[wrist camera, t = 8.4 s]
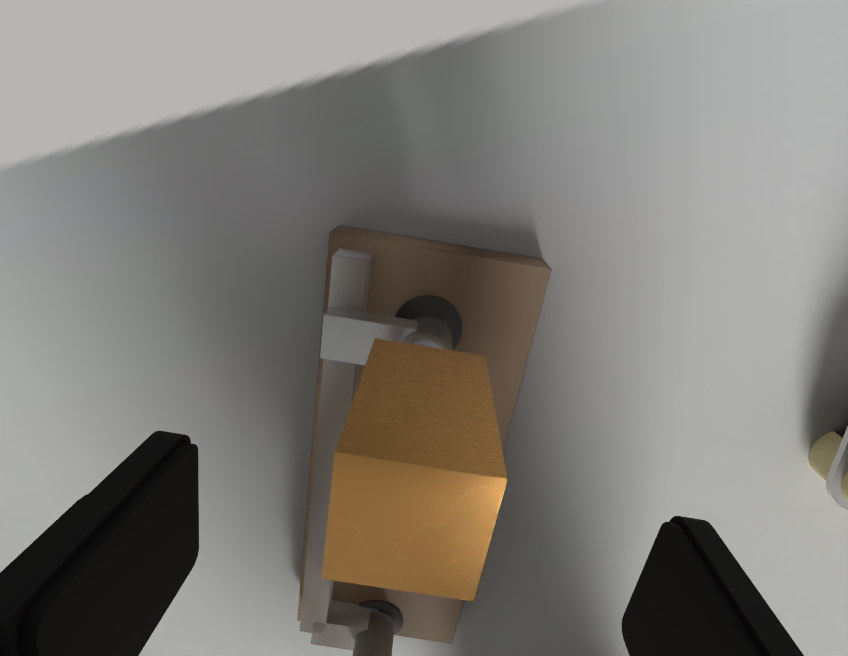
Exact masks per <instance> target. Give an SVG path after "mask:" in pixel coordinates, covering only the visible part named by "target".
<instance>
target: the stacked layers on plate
mask: <svg viewBox="0 0 848 656" xmlns="http://www.w3.org/2000/svg"><path fill="white" fill-rule="evenodd" d="M809 464H810V466H811V467H812V469H813V470H815V471H816V472H817V473H818V474H819V475H820V476H821V477H822V478H823V479H825V480H826V489H827V492H828V494H829V496H830V497H831V498H832V499H833V500H834V501H835V502H836V503H837V504H838V505H839V506H841V507H843V508H845V509H847V510H848V426H847V429H846V431H845V434H844V436H843V438H842V437H841V436H839V435H838V434H837V433H835V432H834V431H831V432H829V433H827V434H825V435H823V436H822V437H821V438H819V439H818V440H817V441H816V442H815V443H814V445H813V446H812V448H811V450H810V452H809Z"/></svg>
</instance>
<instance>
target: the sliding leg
mask: <svg viewBox="0 0 848 656" xmlns="http://www.w3.org/2000/svg"><path fill="white" fill-rule="evenodd" d="M320 358H323V359H329V360H335V361H341V362H348V363H354V364H360V365H365V367H364V370H363V373H362V376H361V379H360V382H359V384H358V387H357V390H356V393H355V396H354V399H353V401H352V404H351V407H350V410H349V413H348V416H347V418H346V421H345V424H344V427H343V430H342V433H341V435H340V438H339V441H338V444H337V447H336V450H335V454H334V463H333V473H332V482H331V492H330V501H329V511H328V520H327V530H326V539H325V549H324V558H323V568H322V577H321V579H327V580H334V581H340V582H347V583H354V584H360V585H367V586H374V587H380V588H387V589H393V590H400V591H407V592H413V593H420V594H427V595H433V596H440V597H446V598H453V599H460V600H466V601H473V602H474V599H475V595H476V591H477V588H478V584H479V581H480V577H481V573H482V570H483V566H484V563H485V559H486V555H487V552H488V548H489V544H490V541H491V537H492V534H493V530H494V526H495V523H496V519H497V516H498V512H499V508H500V505H501V501H502V497H503V494H504V490H505V487H506V483H507V479H508V478H507V473H506V467H505V462H504V456H503V451H502V445H501V440H500V435H499V429H498V424H497V418H496V413H495V407H494V402H493V396H492V391H491V385H490V380H489V375H488V369H487V364H486V358H485V356H483V355H477V354H471V353H464V352H458V351H452V335H451V331H450V329H449V327H448V325H447V324H446V323H445V322H444V321H443V320H442V319H440V318H438V317H436V316H432V315H420V316H417V317H415V318H413V319H411V320H409V319H403V318H397V317H391V316H385V315H379V314H372V313H366V312H360V311H354V310H348V309H342V308H336V307H328V309H327V310H326V312H325V313H324V316H323V328H322V340H321V352H320Z"/></svg>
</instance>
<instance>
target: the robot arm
mask: <svg viewBox="0 0 848 656" xmlns="http://www.w3.org/2000/svg"><path fill="white" fill-rule="evenodd" d="M198 551H199V504H198V447H197V445H195V444H191V441H190V438H189V436H187V435H182V434H176V433H170V432H164V431H156V432H154V433H153V434H152V435H151V436H150V437H149V438H147V439H146V440H145V441H144V442H143V443H142V444H141V445H140V446H139V447H138V448H137V449H136V450H135V451H134V452H133V453H132V454H130V455H129V456H128V457H127V458H126V459H125V460H124V461H123V462H122V463H121V464H120V465H119V466H118V467H117V468H116V469H115V470H113V471H112V472H111V473H110V474H109V475H108V476H107V477H106V478H105V479H104V480H103V481H102V482H101V483H100V484H99V485H98V486H96V487H95V488H94V489H93V490H92V491H91V492H90V493H89V494H88V495H85V496H84V497H82V498H81V499H79V500H78V501H77V502H76V503H75V504H74V505H73V506H71V507H70V508H69V509H68V510H67V511H66V512H65V513H64V514H63V515H62V516H61V517H60V518H59V519H58V520H56V521H55V522H54V523H53V524H52V525H51V526H50V527H49V528H48V529H47V530H46V531H45V532H44V533H43V534H41V535H40V536H39V537H38V538H37V539H36V540H35V541H34V542H33V543H32V544H31V545H30V546H29V547H27V548H26V549H25V550H24V551H23V552H22V553H21V554H20V555H19V556H18V557H17V558H16V559H15V560H14V561H12V562H11V563H10V564H9V565H8V566H7V567H6V568H5V569H4V570H3V571H2V572H1V573H0V656H138V655H139V654H140V652H141V650H142V649H143V647H144V646H145V644H146V642H147V641H148V639H149V638H150V636H151V634H152V633H153V631H154V629H155V628H156V626H157V625H158V623H159V621H160V620H161V618H162V617H163V615H164V613H165V612H166V610H167V608H168V607H169V605H170V604H171V602H172V600H173V599H174V597H175V596H176V594H177V592H178V591H179V589H180V588H181V586H182V584H183V583H184V581H185V579H186V578H187V576H188V575H189V573H190V571H191V570H192V568H193V566H194V564H195V562H196V559H197V556H198ZM622 634H623V638H624V641H625V644H626V647H627V649H628V652H629V655H630V656H804V655H803V654H802V652H801V651H800V650H799V648H798V647H797V645H796V644H795V642H794V641H793V640H792V638H791V637H790V635H789V634H788V633H787V631H786V630H785V628H784V627H783V625H782V624H781V623H780V621H779V620H778V618H777V617H776V616H775V614H774V613H773V611H772V610H771V609H770V607H769V606H768V604H767V603H766V601H765V600H764V599H763V597H762V596H761V594H760V593H759V592H758V590H757V589H756V587H755V586H754V584H753V583H752V582H751V580H750V579H749V577H748V576H747V575H746V573H745V572H744V570H743V569H742V568H741V566H740V565H739V563H738V562H737V560H736V559H735V558H734V556H733V555H732V553H731V552H730V551H729V549H728V548H727V546H726V545H725V544H724V542H723V541H722V539H721V538H720V536H719V535H718V534H717V532H716V531H715V529H714V528H713V527H712V525H711V524H710V523H709V522H707V521H705V520H699V519H693V518H687V517H681V516H674V517H673V518H672V519H671V520H670V522H665V523H663V524H662V526H661V527H660V530H659V532H658V535H657V537H656V539H655V542H654V544H653V546H652V549H651V551H650V554H649V556H648V558H647V561H646V563H645V566H644V568H643V570H642V573H641V575H640V577H639V580H638V582H637V585H636V587H635V589H634V592H633V594H632V596H631V599H630V601H629V604H628V606H627V608H626V611H625V613H624V615H623V619H622Z"/></svg>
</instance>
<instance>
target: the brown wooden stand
mask: <svg viewBox="0 0 848 656" xmlns="http://www.w3.org/2000/svg"><path fill="white" fill-rule="evenodd" d="M550 272H551V268H550V267H549V266H548V265H547V263H546V262H545V261H544V260H543V259H538V258H532V257H526V256H520V255H514V254H508V253H502V252H496V251H490V250H484V249H478V248H472V247H466V246H460V245H454V244H448V243H442V242H436V241H430V240H424V239H418V238H411V237H405V236H399V235H393V234H387V233H381V232H375V231H369V230H363V229H357V228H351V227H345V226H337V227H336V228H335V229H334V230H332V231H331V232H330V237H329V249H328V261H327V273H326V285H325V297H324V309H323V316H324V313H325V312H326V310H327V309H328V307H336V308H342V309H348V310H354V311H360V312H366V313H372V314H379V315H385V316H391V317H397V318H403V319H409V320H411V319H413V318H415V317H417V316H420V315H432V316H436V317H438V318H440V319H442V320H443V321H444V322H445V323H446V324H447V325H448V327H449V329H450V331H451V335H452V351H458V352H464V353H471V354H477V355H483V356H485V358H486V364H487V369H488V375H489V380H490V385H491V391H492V396H493V402H494V407H495V413H496V418H497V424H498V429H499V435H500V440H501V445H502V451H503V449H504V446H505V442H506V438H507V434H508V431H509V427H510V423H511V419H512V415H513V412H514V408H515V404H516V400H517V397H518V393H519V389H520V385H521V382H522V378H523V374H524V370H525V366H526V363H527V359H528V355H529V351H530V348H531V344H532V340H533V336H534V332H535V329H536V325H537V321H538V317H539V314H540V310H541V306H542V302H543V299H544V295H545V291H546V287H547V283H548V280H549V276H550ZM322 328H323V321H322ZM321 340H322V333H321ZM320 352H321V345H320ZM364 367H365V365H360V364H354V363H348V362H341V361H335V360H329V359H323V358H320V357H319V369H318V381H317V393H316V405H315V417H314V429H313V441H312V453H311V465H310V477H309V489H308V501H307V513H306V525H305V537H304V549H303V561H302V573H301V585H300V597H299V609H298V621H301V623H300V631H304V632H311V633H312V640H311V644H315V645H322V646H328V647H335V648H342V649H349V650H354V651H353V656H391V655H392V645H393V636H394V635H398V636H405V637H411V638H418V639H425V640H432V641H438V642H445V643H452V642H453V638H454V634H455V631H456V627H457V623H458V619H459V615H460V612H461V608H462V604H463V600H460V599H453V598H446V597H440V596H433V595H427V594H420V593H413V592H407V591H400V590H393V589H387V588H380V587H374V586H367V585H360V584H354V583H347V582H340V581H334V580H327V579H321V577H322V568H323V558H324V549H325V539H326V530H327V520H328V511H329V501H330V492H331V482H332V473H333V463H334V454H335V450H336V447H337V444H338V441H339V438H340V435H341V433H342V430H343V427H344V424H345V421H346V418H347V416H348V413H349V410H350V407H351V404H352V401H353V399H354V396H355V393H356V390H357V387H358V384H359V382H360V379H361V376H362V373H363V370H364Z"/></svg>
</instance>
